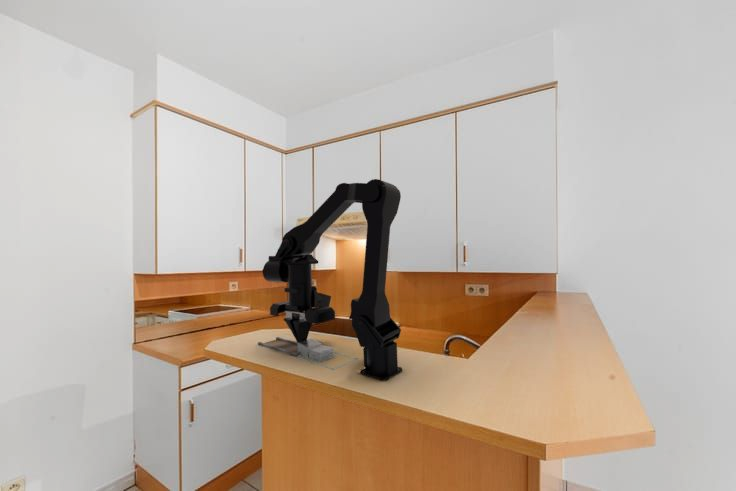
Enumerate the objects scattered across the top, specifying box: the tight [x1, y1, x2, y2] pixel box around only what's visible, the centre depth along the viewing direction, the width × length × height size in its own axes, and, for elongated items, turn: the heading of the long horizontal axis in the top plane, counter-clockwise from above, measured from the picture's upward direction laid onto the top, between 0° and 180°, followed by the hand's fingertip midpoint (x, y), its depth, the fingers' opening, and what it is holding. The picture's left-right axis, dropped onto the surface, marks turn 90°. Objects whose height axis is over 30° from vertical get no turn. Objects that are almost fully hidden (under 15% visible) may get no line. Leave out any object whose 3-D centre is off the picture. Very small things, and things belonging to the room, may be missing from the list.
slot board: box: [257, 336, 300, 358], centre depth 80 cm, size 17×6×2 cm, turn 50°
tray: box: [295, 351, 359, 370], centre depth 71 cm, size 13×8×1 cm, turn 50°
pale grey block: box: [297, 337, 323, 359], centre depth 73 cm, size 4×4×3 cm
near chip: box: [308, 344, 335, 363], centre depth 71 cm, size 4×4×3 cm
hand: (302, 346), depth 75 cm, fingers closed
